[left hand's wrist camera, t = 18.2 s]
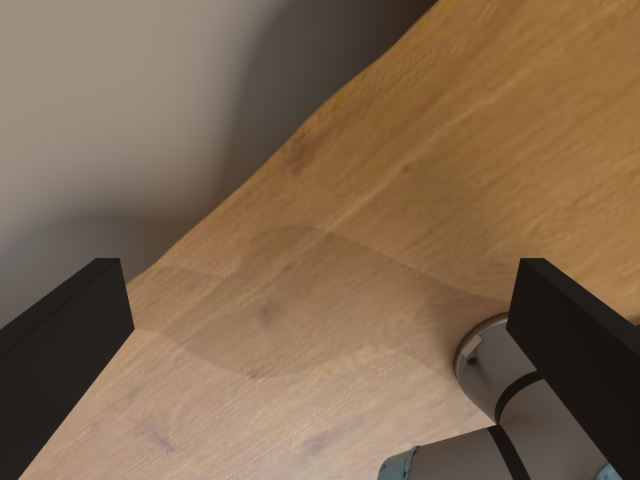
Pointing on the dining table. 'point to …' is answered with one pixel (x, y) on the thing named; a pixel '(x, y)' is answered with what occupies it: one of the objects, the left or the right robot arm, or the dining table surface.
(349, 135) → the dining table surface
